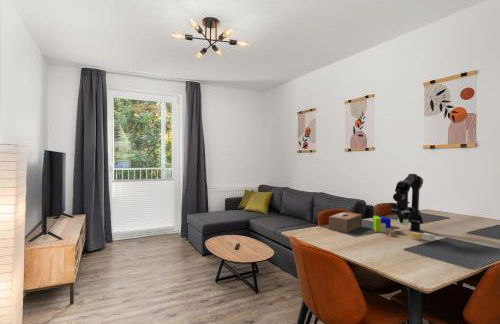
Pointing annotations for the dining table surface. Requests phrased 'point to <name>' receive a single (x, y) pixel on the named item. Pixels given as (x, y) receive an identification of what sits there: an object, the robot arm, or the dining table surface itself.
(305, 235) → the dining table surface
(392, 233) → the walnut brick
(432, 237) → the grey brick
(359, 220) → the tissue box cover
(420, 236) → the mustard brick
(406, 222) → the sage brick
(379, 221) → the puzzle toy
